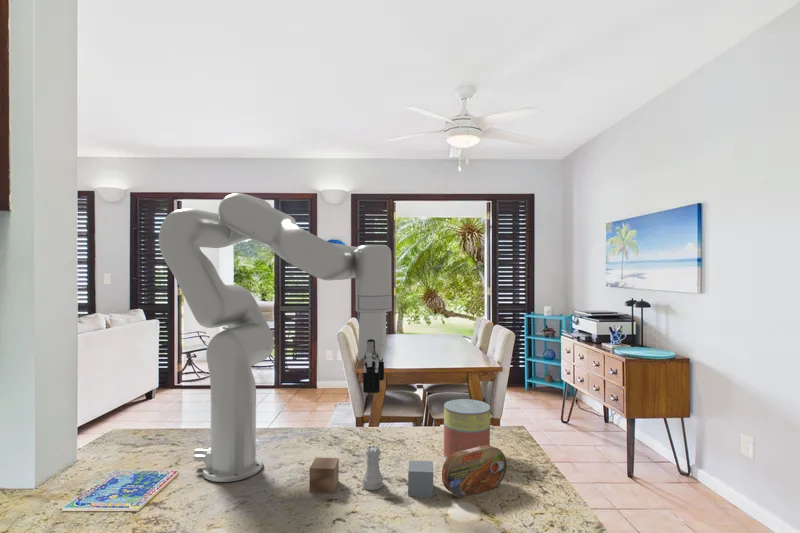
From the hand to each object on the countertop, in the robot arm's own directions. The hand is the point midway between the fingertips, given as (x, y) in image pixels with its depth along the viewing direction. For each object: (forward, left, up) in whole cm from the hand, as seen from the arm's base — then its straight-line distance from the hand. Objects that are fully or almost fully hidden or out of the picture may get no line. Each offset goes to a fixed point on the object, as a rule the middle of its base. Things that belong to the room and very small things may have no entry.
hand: (374, 385), depth 93 cm
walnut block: (-10, -1, -21) cm, 23 cm away
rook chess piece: (0, 0, -21) cm, 21 cm away
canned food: (+21, +17, -21) cm, 34 cm away
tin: (+21, 0, -21) cm, 30 cm away
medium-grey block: (+10, -1, -21) cm, 23 cm away
